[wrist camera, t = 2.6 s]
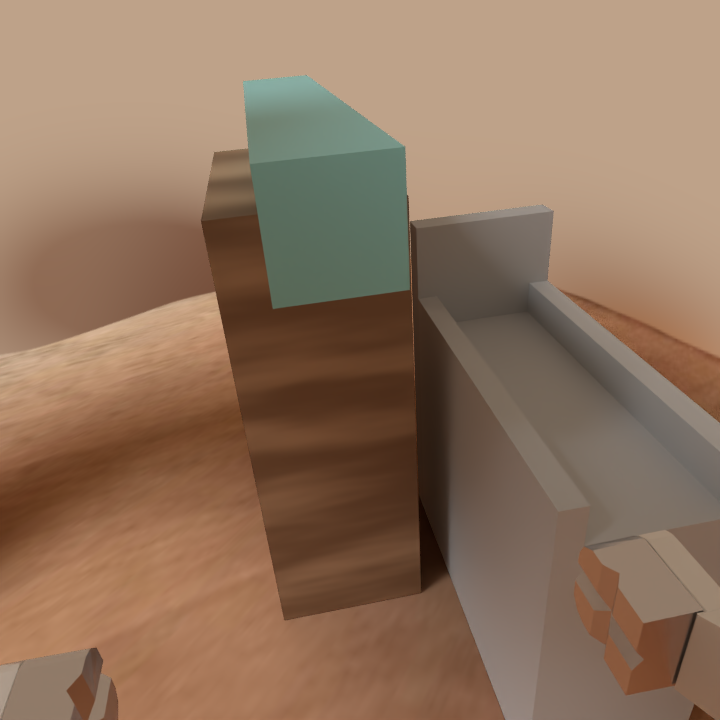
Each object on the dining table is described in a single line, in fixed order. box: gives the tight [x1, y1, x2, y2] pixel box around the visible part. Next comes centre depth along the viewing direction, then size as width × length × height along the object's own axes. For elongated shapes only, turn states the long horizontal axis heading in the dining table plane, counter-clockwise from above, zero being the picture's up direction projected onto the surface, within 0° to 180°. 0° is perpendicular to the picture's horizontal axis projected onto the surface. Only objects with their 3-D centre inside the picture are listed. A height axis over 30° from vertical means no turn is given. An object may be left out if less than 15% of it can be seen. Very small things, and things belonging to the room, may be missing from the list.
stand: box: [201, 149, 421, 620], centre depth 39 cm, size 16×9×26 cm, turn 10°
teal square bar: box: [243, 75, 410, 309], centre depth 27 cm, size 26×4×4 cm, turn 10°
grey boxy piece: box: [410, 205, 720, 720], centre depth 33 cm, size 20×8×22 cm, turn 10°
